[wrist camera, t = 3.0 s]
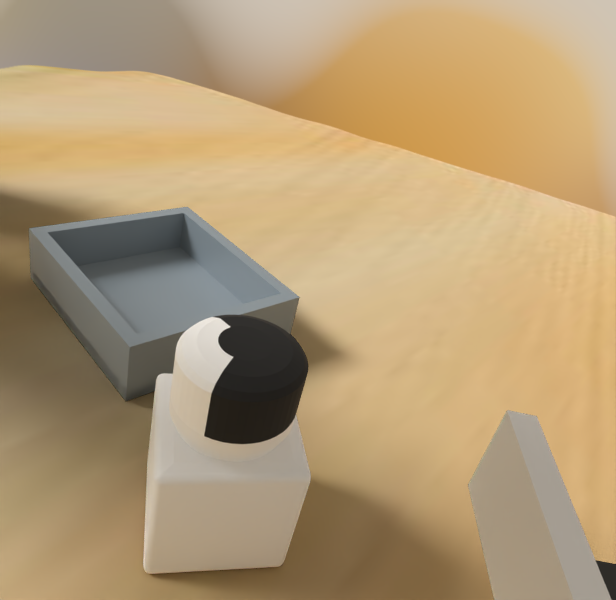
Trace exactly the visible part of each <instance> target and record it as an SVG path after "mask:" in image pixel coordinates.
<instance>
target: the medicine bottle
mask: <svg viewBox="0 0 616 600" xmlns="http://www.w3.org/2000/svg"><path fill="white" fill-rule="evenodd" d="M307 373H308V361H307V358H306V355H305V353H304V351H303V349H302V348H301V346H300V345H299V343H298V342H297V341H296V339H295V338H294V337H293V336H292V335H291V334H289V333H288V332H287V331H285V330H284V329H282V328H281V327H279V326H277V325H275V324H273V323H271V322H269V321H266V320H263V319H260V318H256V317H252V316H246V315H219V316H214V317H210V318H207V319H204V320H202V321H200V322H198V323H197V324H195V325H193V326H192V327H190V328H189V329H188V330H186V331H185V332H184V333H183V335H182V336H181V337H180V339H179V341H178V343H177V346H176V352H175V360H174V368H173V374H167V373H163V374H160V375H158V377H157V379H156V385H155V394H154V404H153V413H152V423H151V433H150V442H149V452H148V461H147V483H146V509H145V534H144V560H143V567H144V570H145V572H147V573H149V574H156V573H175V572H193V571H211V570H229V569H247V568H265V567H279V566H281V565H282V564H283V563H284V560H285V557H286V554H287V551H288V548H289V545H290V542H291V539H292V536H293V533H294V530H295V527H296V524H297V521H298V518H299V515H300V512H301V508H302V505H303V502H304V499H305V496H306V493H307V490H308V487H309V484H310V481H311V474H310V470H309V466H308V461H307V457H306V453H305V449H304V445H303V441H302V437H301V433H300V429H299V424H298V420H297V416H296V412H297V408H298V405H299V401H300V398H301V394H302V391H303V387H304V384H305V380H306V376H307Z"/></svg>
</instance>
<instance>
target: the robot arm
mask: <svg viewBox="0 0 616 600" xmlns="http://www.w3.org/2000/svg"><path fill="white" fill-rule="evenodd" d="M468 487H469V492H470V496H471V500H472V505H473V509H474V514H475V518H476V522H477V527H478V531H479V535H480V540H481V544H482V549H483V553H484V557H485V562H486V566H487V571H488V575H489V579H490V584H491V588H492V592H493V597H494V600H616V564H612V563H607V562H601V561H596V560H595V558H594V556H593V553H592V551H591V548H590V546H589V543H588V541H587V538H586V536H585V534H584V531H583V529H582V526H581V524H580V521H579V519H578V516H577V514H576V511H575V509H574V507H573V504H572V502H571V499H570V497H569V494H568V492H567V489H566V487H565V485H564V482H563V480H562V477H561V475H560V472H559V470H558V467H557V465H556V463H555V460H554V458H553V455H552V453H551V450H550V448H549V445H548V443H547V440H546V438H545V436H544V433H543V431H542V428H541V426H540V423H539V421H538V418H537V416H533V415H528V414H524V413H519V412H514V411H509V410H507V411H506V413H505V415H504V417H503V419H502V421H501V423H500V425H499V426H498V428H497V430H496V432H495V434H494V436H493V438H492V440H491V442H490V444H489V446H488V448H487V449H486V451H485V453H484V455H483V457H482V459H481V461H480V463H479V465H478V467H477V469H476V470H475V472H474V474H473V476H472V478H471V480H470V482H469V484H468Z"/></svg>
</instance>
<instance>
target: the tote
mask: <svg viewBox="0 0 616 600" xmlns="http://www.w3.org/2000/svg"><path fill="white" fill-rule="evenodd" d="M29 247H30V273H31V279H32V281H33V282H34V283H35V284H36V286H37V287H38V288H39V290H40V291H41V292H42V294H43V295H44V296H45V297H46V299H47V300H48V301H49V303H50V304H51V305H52V306H53V308H54V309H55V310H56V312H57V313H58V314H59V316H60V317H61V318H62V319H63V321H64V322H65V323H66V325H67V326H68V327H69V328H70V330H71V331H72V332H73V334H74V335H75V336H76V338H77V339H78V340H79V341H80V343H81V344H82V345H83V347H84V348H85V349H86V350H87V352H88V353H89V354H90V356H91V357H92V358H93V360H94V361H95V362H96V363H97V365H98V366H99V367H100V369H101V370H102V371H103V373H104V374H105V375H106V376H107V378H108V379H109V380H110V382H111V383H112V384H113V385H114V387H115V388H116V389H117V391H118V392H119V393H120V395H121V396H122V397H123V398H124V400H125V401H128V400H131V399H134V398H137V397H139V396H142V395H145V394H148V393H151V392H153V391H155V385H156V379H157V377H158V375H160V374H163V373H167V374H173V368H174V360H175V352H176V346H177V343H178V341H179V339H180V337H181V336H182V335H183V333H184V332H185V331H186V330H188V329H189V328H190V327H192V326H193V325H195V324H197V323H198V322H200V321H202V320H204V319H207V318H210V317H214V316H219V315H246V316H252V317H256V318H260V319H263V320H266V321H269V322H271V323H273V324H275V325H277V326H279V327H281V328H282V329H284V330H285V331H287V332H288V333H289V334H290V333H291V329H292V325H293V321H294V317H295V313H296V309H297V305H298V301H299V296H297V295H296V294H295V293H294V292H292V291H291V290H290V289H289V288H287V287H286V286H285V285H284V284H282V283H281V282H280V281H279V280H277V279H276V278H275V277H274V276H273V275H271V274H270V273H269V272H268V271H266V270H265V269H264V268H263V267H261V266H260V265H259V264H258V263H256V262H255V261H254V260H253V259H251V258H250V257H249V256H248V255H247V254H245V253H244V252H243V251H242V250H240V249H239V248H238V247H237V246H235V245H234V244H233V243H232V242H230V241H229V240H228V239H227V238H225V237H224V236H223V235H222V234H220V233H219V232H218V231H217V230H216V229H214V228H213V227H212V226H211V225H209V224H208V223H207V222H206V221H204V220H203V219H202V218H201V217H199V216H198V215H197V214H196V213H194V212H193V211H192V210H191V209H190V208H188V207H183V208H176V209H168V210H161V211H153V212H146V213H138V214H131V215H124V216H116V217H109V218H101V219H94V220H87V221H79V222H72V223H64V224H57V225H49V226H42V227H35V228H29Z"/></svg>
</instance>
